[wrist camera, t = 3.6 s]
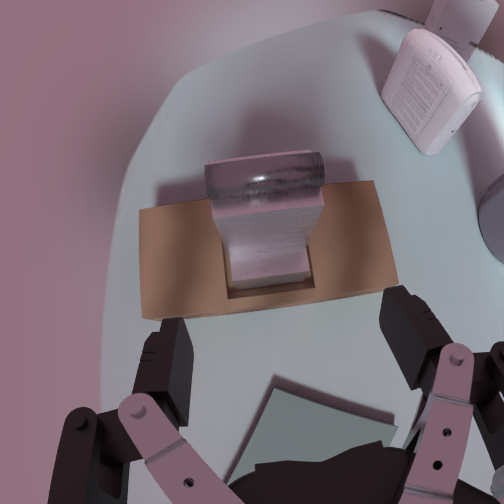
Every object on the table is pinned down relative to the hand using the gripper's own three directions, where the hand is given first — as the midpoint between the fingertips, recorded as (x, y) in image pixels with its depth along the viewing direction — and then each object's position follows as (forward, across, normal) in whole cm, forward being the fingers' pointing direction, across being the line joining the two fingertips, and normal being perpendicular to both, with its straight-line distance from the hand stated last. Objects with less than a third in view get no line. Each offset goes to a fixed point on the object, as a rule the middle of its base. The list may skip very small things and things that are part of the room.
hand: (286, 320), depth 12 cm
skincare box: (+38, -36, -17) cm, 55 cm away
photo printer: (+25, -20, -4) cm, 32 cm away
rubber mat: (+1, -2, +20) cm, 20 cm away
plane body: (+15, 0, +6) cm, 16 cm away
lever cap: (+13, 0, +4) cm, 13 cm away
